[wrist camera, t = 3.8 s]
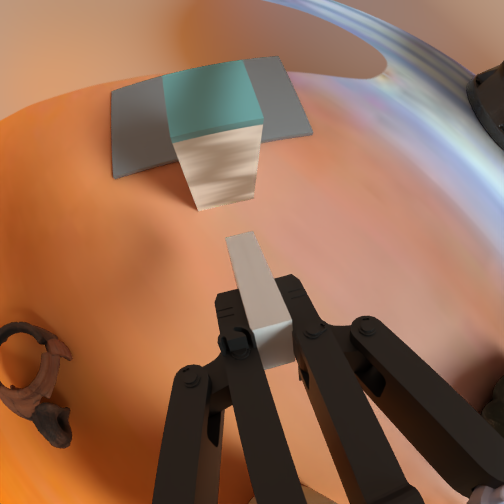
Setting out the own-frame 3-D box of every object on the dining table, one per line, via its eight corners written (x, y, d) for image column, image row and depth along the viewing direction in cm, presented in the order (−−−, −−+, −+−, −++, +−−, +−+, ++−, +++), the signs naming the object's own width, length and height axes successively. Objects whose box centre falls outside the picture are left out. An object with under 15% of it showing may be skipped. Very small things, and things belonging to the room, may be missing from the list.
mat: (277, 58, 30) (278, 55, 30) (312, 135, 28) (313, 132, 28) (113, 93, 28) (111, 91, 28) (115, 179, 26) (113, 177, 26)
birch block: (240, 151, 27) (242, 59, 16) (253, 198, 26) (263, 117, 15) (188, 163, 27) (162, 75, 15) (198, 211, 26) (170, 137, 14)
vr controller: (6, 373, 22) (-33, 343, 16) (63, 333, 28) (35, 294, 22) (58, 466, 18) (17, 461, 12) (123, 420, 23) (99, 404, 17)
